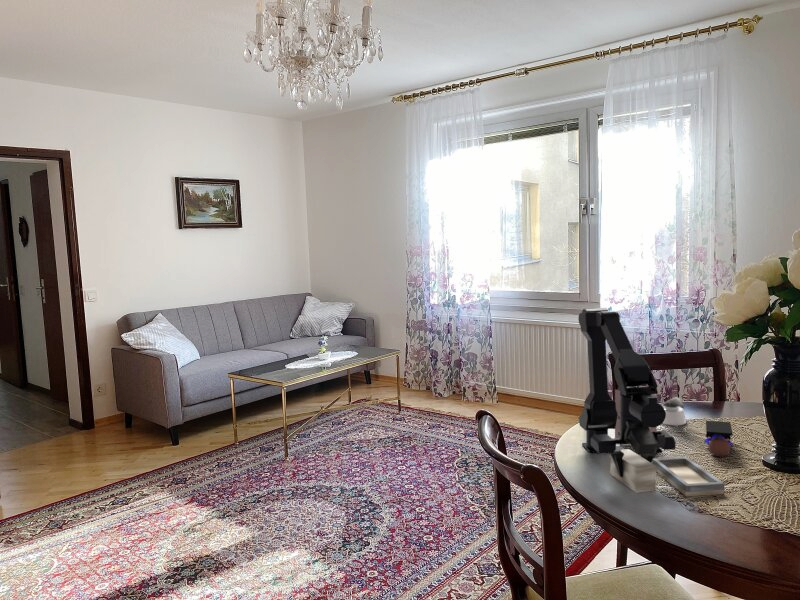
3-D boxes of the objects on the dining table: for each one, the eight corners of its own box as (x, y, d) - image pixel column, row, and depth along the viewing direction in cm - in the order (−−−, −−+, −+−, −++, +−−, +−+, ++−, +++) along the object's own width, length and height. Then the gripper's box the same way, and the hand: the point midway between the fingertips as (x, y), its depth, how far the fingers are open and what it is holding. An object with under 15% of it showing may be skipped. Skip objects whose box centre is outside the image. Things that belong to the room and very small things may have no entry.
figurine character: (703, 443, 169) (705, 456, 155) (703, 417, 169) (705, 428, 155) (730, 446, 166) (734, 460, 152) (730, 419, 166) (735, 430, 152)
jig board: (652, 468, 150) (652, 458, 150) (686, 466, 150) (686, 456, 150) (686, 496, 134) (686, 486, 134) (724, 493, 135) (724, 483, 134)
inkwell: (680, 416, 189) (681, 386, 187) (702, 435, 171) (702, 402, 170) (650, 416, 190) (651, 386, 189) (668, 435, 172) (669, 402, 171)
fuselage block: (610, 474, 147) (610, 451, 147) (628, 471, 148) (628, 448, 148) (636, 492, 137) (636, 468, 136) (655, 490, 138) (655, 465, 137)
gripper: (608, 427, 132) (608, 492, 134) (688, 422, 133) (687, 487, 135) (589, 411, 143) (589, 472, 145) (664, 407, 144) (663, 468, 146)
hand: (632, 475), depth 142 cm, fingers closed on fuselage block, 5 cm apart
